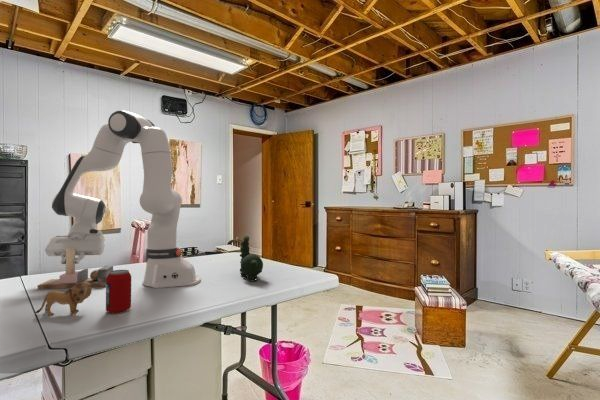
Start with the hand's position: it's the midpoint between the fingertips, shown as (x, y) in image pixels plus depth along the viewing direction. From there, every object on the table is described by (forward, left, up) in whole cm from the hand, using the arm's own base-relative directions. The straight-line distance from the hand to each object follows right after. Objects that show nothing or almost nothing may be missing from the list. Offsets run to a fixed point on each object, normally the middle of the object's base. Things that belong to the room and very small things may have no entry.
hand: (69, 263), depth 131 cm
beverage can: (-28, +36, -9) cm, 47 cm away
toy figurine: (-70, -2, -9) cm, 71 cm away
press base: (-3, -1, -9) cm, 9 cm away
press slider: (-1, -1, -7) cm, 7 cm away
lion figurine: (-13, +35, -9) cm, 39 cm away
